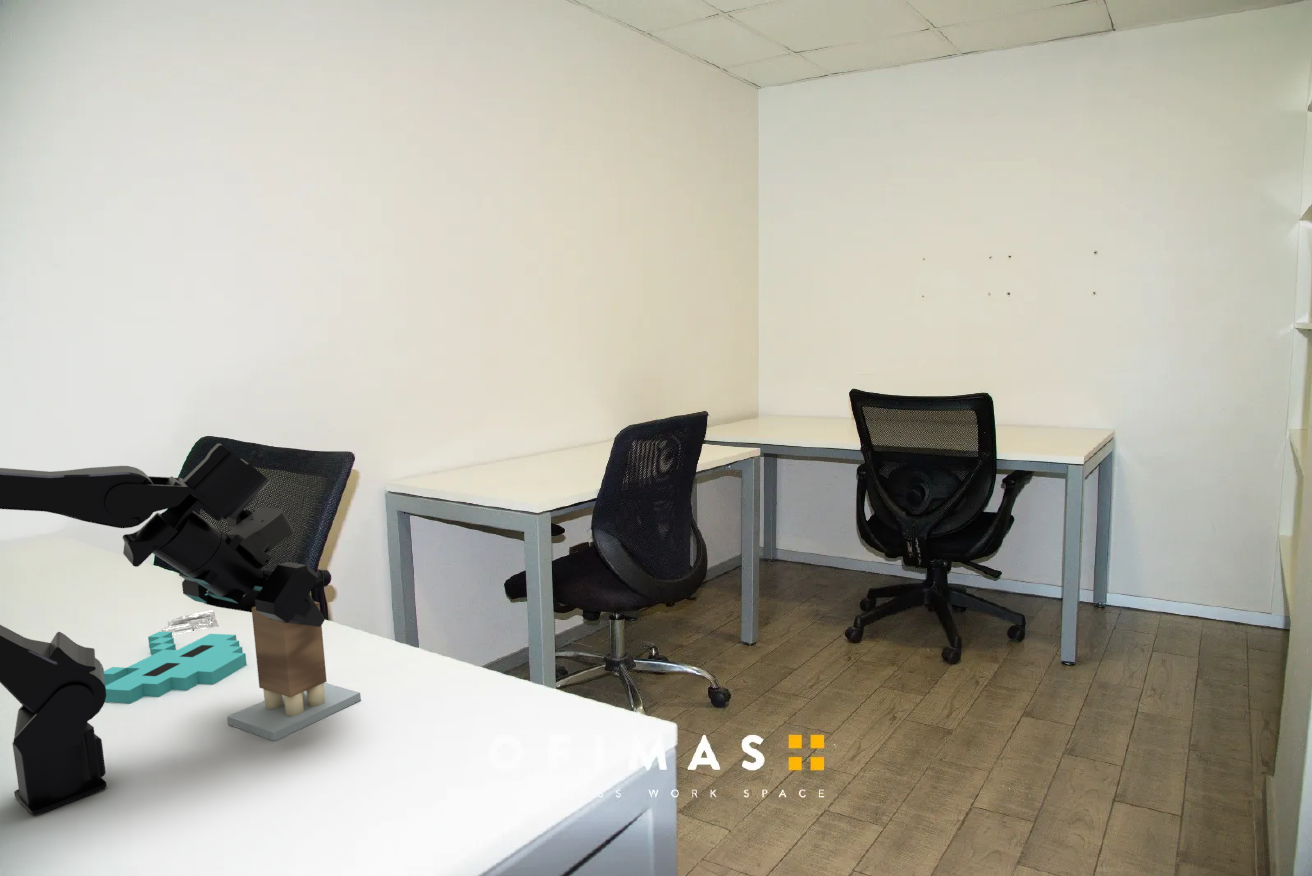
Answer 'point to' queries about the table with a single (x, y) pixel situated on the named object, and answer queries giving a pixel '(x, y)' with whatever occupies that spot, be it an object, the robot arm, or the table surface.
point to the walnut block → (288, 655)
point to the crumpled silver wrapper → (194, 622)
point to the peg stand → (292, 710)
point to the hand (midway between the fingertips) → (297, 617)
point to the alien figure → (175, 667)
